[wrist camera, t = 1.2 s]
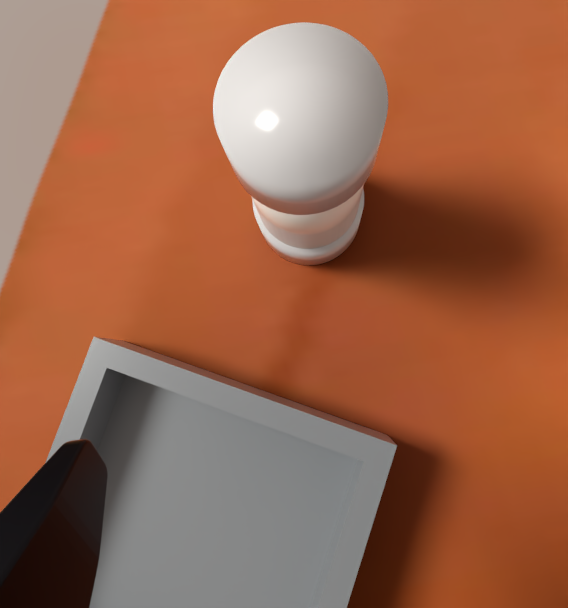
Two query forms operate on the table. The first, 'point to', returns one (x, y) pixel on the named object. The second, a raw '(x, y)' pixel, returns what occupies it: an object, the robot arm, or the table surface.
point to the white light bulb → (303, 134)
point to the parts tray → (221, 487)
